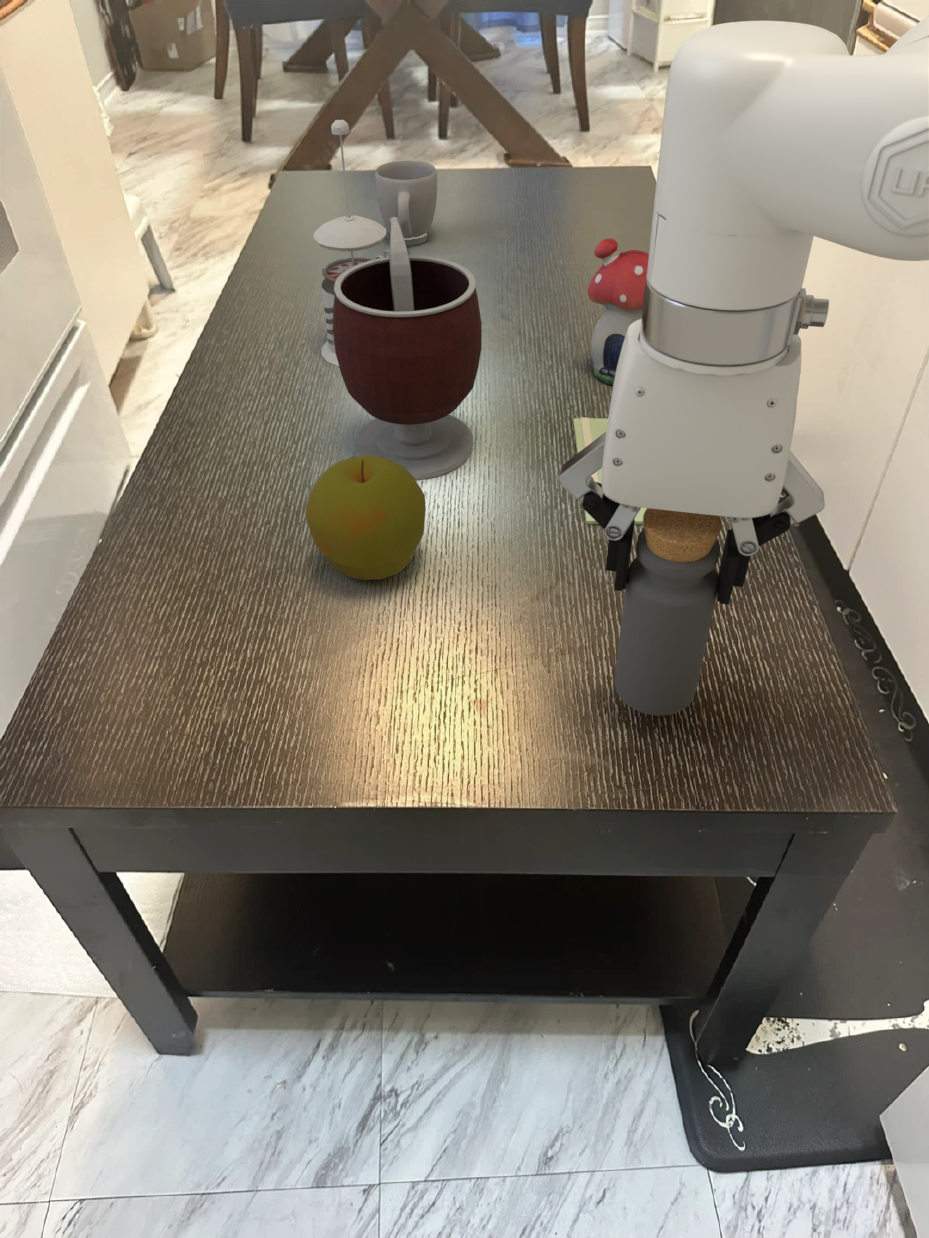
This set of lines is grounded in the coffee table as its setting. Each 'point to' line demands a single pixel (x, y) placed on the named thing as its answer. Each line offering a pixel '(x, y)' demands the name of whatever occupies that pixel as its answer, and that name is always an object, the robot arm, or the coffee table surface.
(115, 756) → the coffee table surface
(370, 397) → the mate gourd
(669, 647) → the bottle
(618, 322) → the decorative ornament
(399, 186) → the mug
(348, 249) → the french press
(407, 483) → the apple
